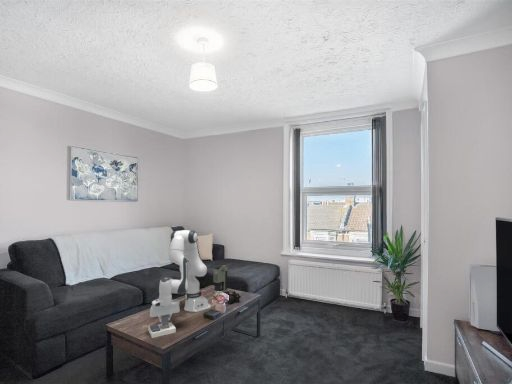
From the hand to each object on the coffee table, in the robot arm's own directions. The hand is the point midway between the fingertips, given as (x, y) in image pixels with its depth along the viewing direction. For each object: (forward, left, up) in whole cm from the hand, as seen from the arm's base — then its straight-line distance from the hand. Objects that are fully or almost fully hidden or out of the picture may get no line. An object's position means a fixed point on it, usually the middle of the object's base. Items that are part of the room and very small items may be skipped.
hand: (164, 320), depth 205 cm
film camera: (-67, -29, -8) cm, 73 cm away
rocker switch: (0, 0, -2) cm, 2 cm away
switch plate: (+2, 0, -7) cm, 8 cm away
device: (-66, -51, -8) cm, 84 cm away
